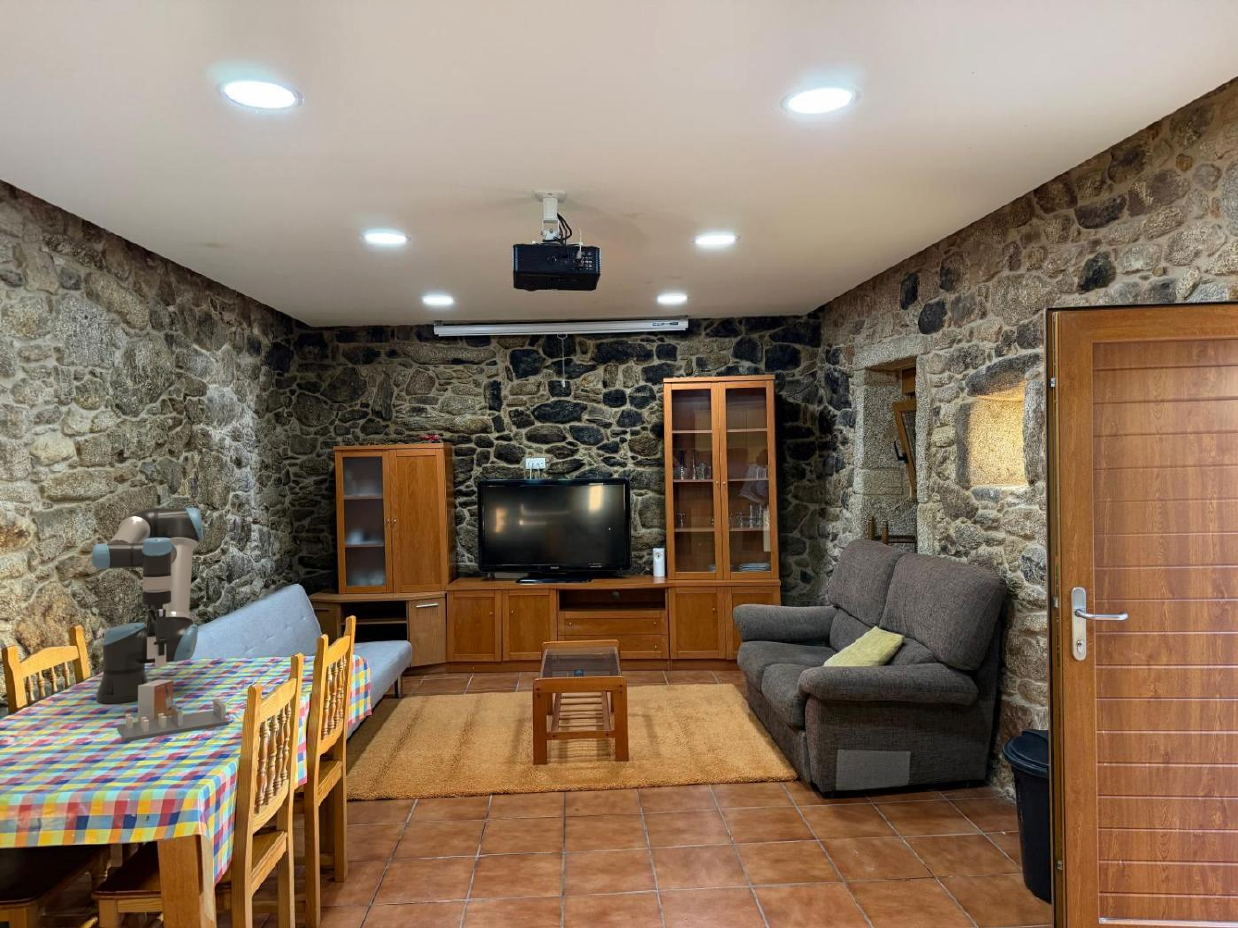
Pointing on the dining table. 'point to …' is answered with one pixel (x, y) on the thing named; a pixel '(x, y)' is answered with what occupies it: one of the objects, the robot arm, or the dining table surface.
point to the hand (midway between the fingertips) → (156, 662)
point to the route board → (167, 725)
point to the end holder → (218, 710)
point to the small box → (155, 699)
